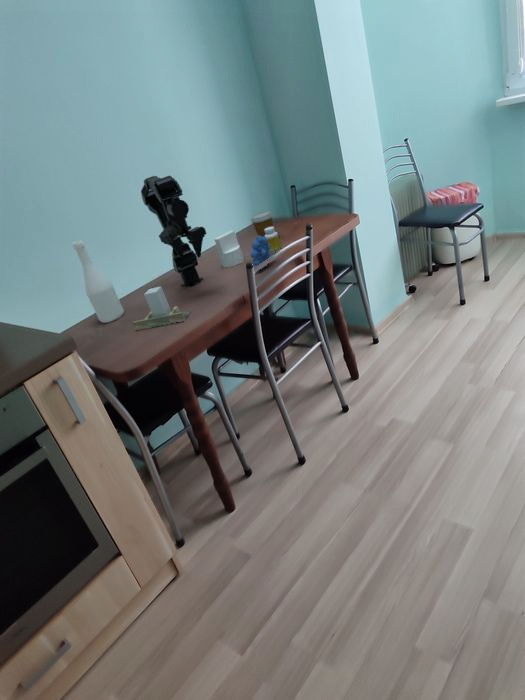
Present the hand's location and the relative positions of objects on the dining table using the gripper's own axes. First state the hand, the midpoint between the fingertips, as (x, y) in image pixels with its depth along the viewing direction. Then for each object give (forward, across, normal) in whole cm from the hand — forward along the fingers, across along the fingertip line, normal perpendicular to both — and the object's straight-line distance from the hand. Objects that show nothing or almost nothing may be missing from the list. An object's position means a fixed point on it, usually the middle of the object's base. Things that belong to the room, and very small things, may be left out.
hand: (190, 257), depth 174 cm
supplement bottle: (+13, +8, +36) cm, 39 cm away
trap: (+13, +3, -22) cm, 26 cm away
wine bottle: (+13, -26, -24) cm, 38 cm away
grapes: (+13, +14, +20) cm, 28 cm away
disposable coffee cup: (+13, -5, +48) cm, 50 cm away
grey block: (+13, +3, -22) cm, 26 cm away
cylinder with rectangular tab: (+13, -6, +25) cm, 29 cm away
